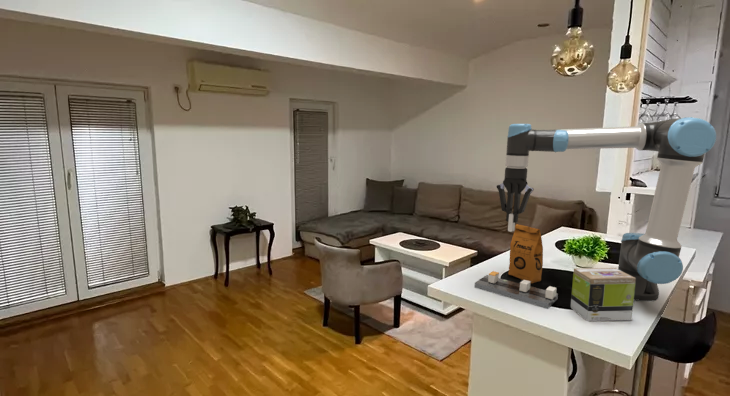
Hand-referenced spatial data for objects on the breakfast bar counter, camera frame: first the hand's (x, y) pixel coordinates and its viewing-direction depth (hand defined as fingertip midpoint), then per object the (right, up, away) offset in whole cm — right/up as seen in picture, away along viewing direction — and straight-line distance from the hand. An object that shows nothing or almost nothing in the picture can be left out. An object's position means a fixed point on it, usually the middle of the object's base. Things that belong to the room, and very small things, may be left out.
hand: (511, 230), depth 143 cm
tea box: (+24, -27, -14) cm, 39 cm away
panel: (+2, -24, +2) cm, 24 cm away
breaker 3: (+12, -23, -6) cm, 26 cm away
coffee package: (+12, -21, +17) cm, 30 cm away
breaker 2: (+5, -22, -1) cm, 22 cm away
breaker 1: (-4, -20, +7) cm, 22 cm away
